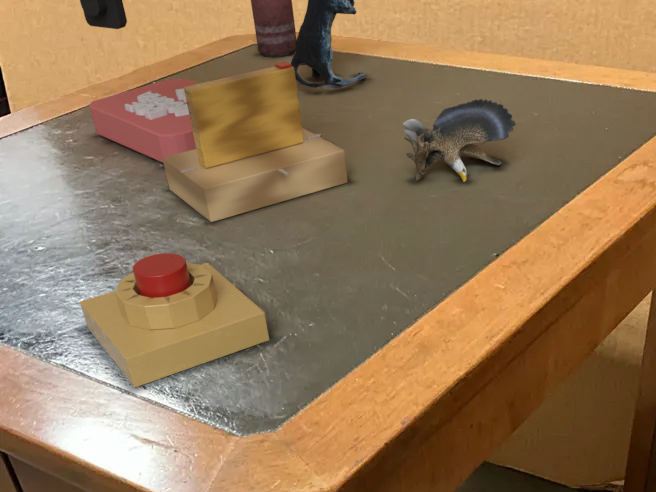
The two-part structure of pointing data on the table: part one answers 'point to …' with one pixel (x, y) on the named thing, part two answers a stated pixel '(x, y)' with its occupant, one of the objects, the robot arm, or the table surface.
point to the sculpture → (320, 42)
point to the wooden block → (245, 114)
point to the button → (161, 275)
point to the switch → (174, 325)
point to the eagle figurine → (458, 135)
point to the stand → (256, 177)
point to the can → (274, 27)
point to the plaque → (147, 119)
